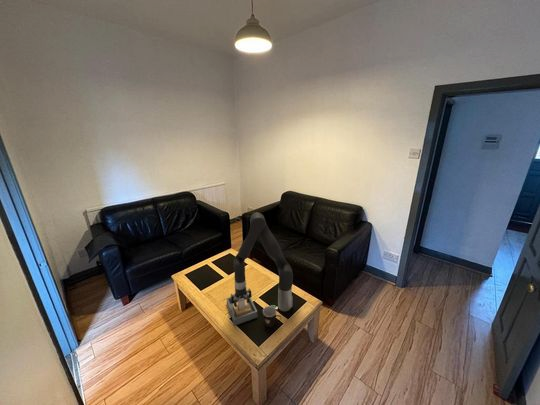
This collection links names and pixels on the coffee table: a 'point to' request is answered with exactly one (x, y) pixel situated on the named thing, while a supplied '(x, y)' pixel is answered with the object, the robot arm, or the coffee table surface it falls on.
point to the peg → (241, 304)
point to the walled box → (242, 311)
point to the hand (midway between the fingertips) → (241, 304)
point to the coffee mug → (270, 316)
